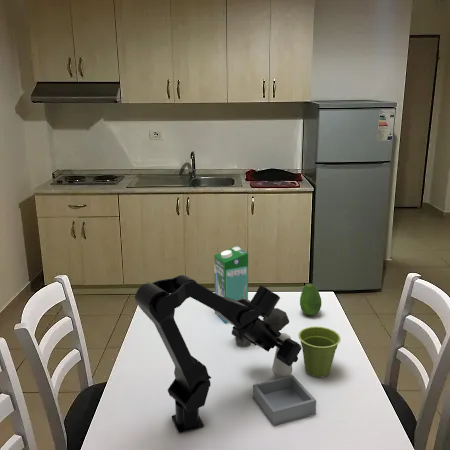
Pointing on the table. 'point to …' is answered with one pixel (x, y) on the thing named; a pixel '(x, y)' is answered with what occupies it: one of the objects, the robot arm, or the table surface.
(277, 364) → the salt shaker
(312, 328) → the plant pot
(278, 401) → the box
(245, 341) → the beverage cup
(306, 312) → the avocado
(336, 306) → the table surface
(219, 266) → the milk carton
